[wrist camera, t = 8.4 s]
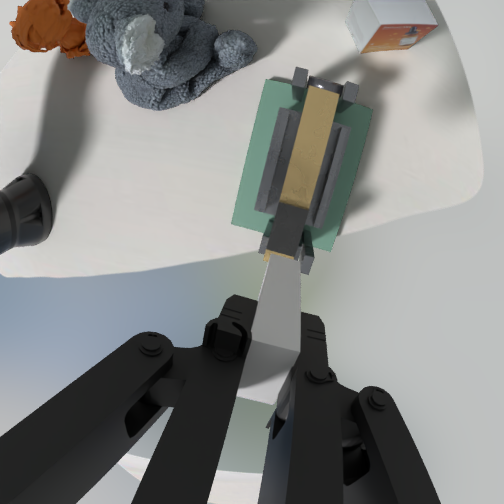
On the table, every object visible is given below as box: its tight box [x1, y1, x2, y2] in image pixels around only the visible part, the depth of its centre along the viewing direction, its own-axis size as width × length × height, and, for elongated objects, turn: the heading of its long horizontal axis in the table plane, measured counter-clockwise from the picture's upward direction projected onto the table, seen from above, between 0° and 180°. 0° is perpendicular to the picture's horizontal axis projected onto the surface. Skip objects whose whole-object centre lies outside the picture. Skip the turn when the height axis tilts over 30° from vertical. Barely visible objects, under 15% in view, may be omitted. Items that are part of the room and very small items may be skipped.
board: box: [231, 79, 373, 252], centre depth 34 cm, size 20×14×1 cm
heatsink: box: [254, 67, 359, 275], centre depth 30 cm, size 20×8×10 cm, turn 167°
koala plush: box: [67, 0, 258, 111], centre depth 22 cm, size 17×18×20 cm
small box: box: [345, 0, 438, 54], centre depth 21 cm, size 8×6×10 cm
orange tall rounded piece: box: [10, 0, 90, 59], centre depth 22 cm, size 11×11×18 cm
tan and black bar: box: [263, 76, 344, 262], centre depth 26 cm, size 20×3×2 cm, turn 167°
